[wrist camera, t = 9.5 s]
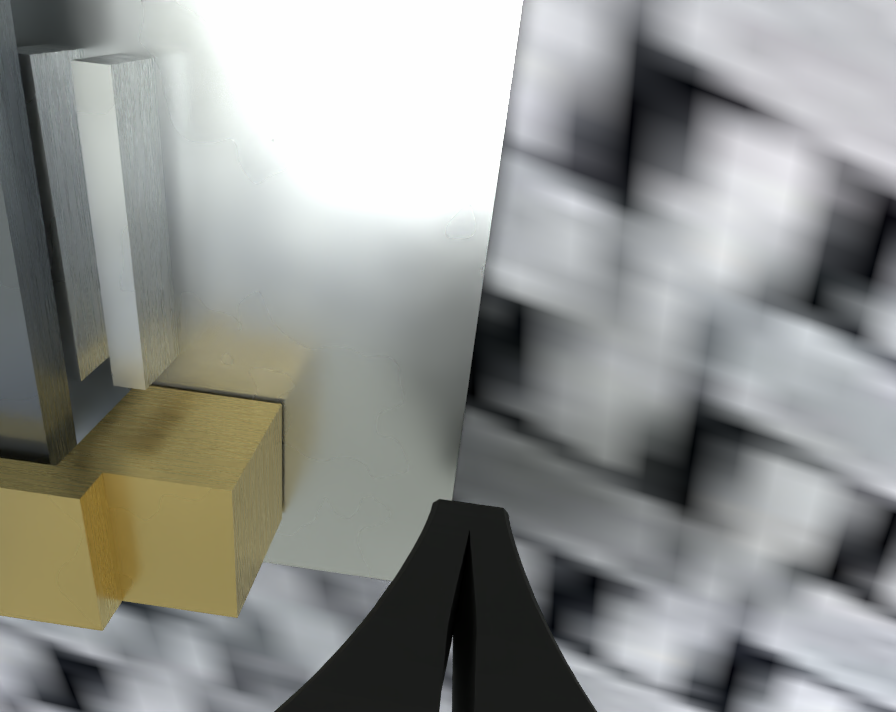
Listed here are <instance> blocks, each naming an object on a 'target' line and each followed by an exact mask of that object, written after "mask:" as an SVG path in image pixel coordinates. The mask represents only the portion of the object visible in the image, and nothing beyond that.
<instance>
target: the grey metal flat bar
mask: <svg viewBox="0 0 896 712" xmlns="http://www.w3.org/2000/svg"><path fill="white" fill-rule="evenodd" d="M76 445H77V440H76V433H75V427H74V420H73V414H72V407H71V401H70V394H69V387H68V381H67V374H66V368H65V361H64V354H63V348H62V341H61V335H60V328H59V321H58V315H57V308H56V302H55V295H54V288H53V282H52V275H51V269H50V262H49V256H48V249H47V242H46V236H45V229H44V223H43V216H42V209H41V203H40V196H39V190H38V183H37V176H36V170H35V163H34V157H33V150H32V143H31V137H30V130H29V124H28V117H27V111H26V104H25V97H24V91H23V84H22V78H21V71H20V64H19V58H18V51H17V45H16V38H15V31H14V25H13V18H12V12H11V5H10V0H0V458H5V459H12V460H19V461H26V462H33V463H40V464H47V465H54V466H57V465H58V464H59V463H60V462H61V461H62V460H63V459H64V457H65V456H66V455H67V454H68V453H69V452H70V451H71V450H72V449H73V448H74V447H75V446H76Z"/></svg>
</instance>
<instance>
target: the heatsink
mask: <svg viewBox="0 0 896 712" xmlns="http://www.w3.org/2000/svg"><path fill="white" fill-rule="evenodd" d="M522 3H523V0H10V5H11V12H12V18H13V25H14V31H15V38H16V45H17V51H18V58H19V64H20V71H21V78H22V84H23V91H24V97H25V104H26V111H27V117H28V124H29V130H30V137H31V143H32V150H33V157H34V163H35V170H36V176H37V183H38V190H39V196H40V203H41V209H42V216H43V223H44V229H45V236H46V242H47V249H48V256H49V262H50V269H51V275H52V282H53V288H54V295H55V302H56V308H57V315H58V321H59V328H60V335H61V341H62V348H63V354H64V361H65V368H66V374H67V381H68V387H69V394H70V401H71V407H72V414H73V420H74V427H75V433H76V440H77V444H78V443H79V442H80V441H81V440H82V439H83V438H84V437H85V436H86V435H87V434H88V433H89V432H90V431H91V430H92V429H93V428H94V427H95V426H96V425H97V424H98V423H99V422H100V421H101V420H102V419H103V418H104V417H105V416H106V415H107V414H108V413H109V412H110V411H111V410H112V409H113V408H114V407H115V406H116V405H117V403H118V402H119V401H120V400H121V399H122V398H123V397H124V396H125V395H126V394H127V393H128V392H129V391H130V390H131V389H132V388H134V389H141V390H146V389H147V388H148V387H149V386H156V387H163V388H170V389H177V390H184V391H191V392H199V393H206V394H213V395H220V396H227V397H234V398H241V399H249V400H256V401H263V402H270V403H277V404H282V520H281V522H280V524H279V526H278V529H277V531H276V533H275V535H274V538H273V540H272V542H271V544H270V547H269V549H268V551H267V553H266V555H265V558H264V560H263V562H266V563H273V564H280V565H287V566H293V567H300V568H307V569H314V570H321V571H328V572H335V573H341V574H348V575H355V576H362V577H369V578H376V579H382V580H389V581H393V579H394V578H395V576H396V575H397V573H398V572H399V570H400V568H401V567H402V565H403V564H404V562H405V560H406V559H407V557H408V555H409V554H410V552H411V550H412V549H413V547H414V545H415V543H416V541H417V539H418V538H419V536H420V534H421V532H422V530H423V528H424V526H425V523H426V521H427V519H428V516H429V514H430V511H431V507H432V504H433V502H435V501H437V500H438V499H444V500H451V501H452V496H453V489H454V482H455V475H456V468H457V461H458V454H459V447H460V440H461V433H462V426H463V419H464V412H465V405H466V398H467V391H468V384H469V376H470V369H471V362H472V355H473V348H474V341H475V334H476V327H477V320H478V313H479V306H480V299H481V292H482V285H483V278H484V271H485V264H486V257H487V249H488V242H489V235H490V228H491V221H492V214H493V207H494V200H495V193H496V186H497V179H498V172H499V165H500V158H501V151H502V144H503V137H504V130H505V122H506V115H507V108H508V101H509V94H510V87H511V80H512V73H513V66H514V59H515V52H516V45H517V38H518V31H519V24H520V17H521V10H522Z"/></svg>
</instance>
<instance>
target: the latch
mask: <svg viewBox="0 0 896 712" xmlns="http://www.w3.org/2000/svg"><path fill="white" fill-rule="evenodd" d="M281 520H282V404H277V403H270V402H263V401H256V400H249V399H241V398H234V397H227V396H220V395H213V394H206V393H199V392H191V391H184V390H177V389H170V388H163V387H156V386H149V387H148V388H147V389H146V390H141V389H134V388H132V389H131V390H130V391H129V392H128V393H127V394H126V395H125V396H124V397H123V398H122V399H121V400H120V401H119V402H118V403H117V405H116V406H115V407H114V408H113V409H112V410H111V411H110V412H109V413H108V414H107V415H106V416H105V417H104V418H103V419H102V420H101V421H100V422H99V423H98V424H97V425H96V426H95V427H94V428H93V429H92V430H91V431H90V432H89V433H88V434H87V435H86V436H85V437H84V438H83V439H82V440H81V441H80V442H79V443H78V444H77V445H76V446H75V447H74V448H73V449H72V450H71V451H70V452H69V453H68V454H67V455H66V456H65V457H64V459H63V460H62V461H61V462H60V463H59V464H58V465H57V466H54V465H47V464H40V463H33V462H26V461H19V460H12V459H5V458H0V616H7V617H14V618H20V619H27V620H34V621H40V622H47V623H54V624H60V625H67V626H74V627H80V628H87V629H94V630H101V631H103V630H104V628H105V627H106V625H107V623H108V622H109V620H110V619H111V617H112V616H113V614H114V613H115V611H116V610H117V608H118V607H119V605H120V604H121V602H122V601H127V602H134V603H141V604H148V605H154V606H161V607H168V608H175V609H181V610H188V611H195V612H202V613H208V614H215V615H222V616H229V617H235V618H238V616H239V613H240V611H241V609H242V607H243V605H244V602H245V600H246V598H247V596H248V593H249V591H250V589H251V587H252V584H253V582H254V580H255V578H256V576H257V573H258V571H259V569H260V567H261V564H262V562H263V560H264V558H265V555H266V553H267V551H268V549H269V547H270V544H271V542H272V540H273V538H274V535H275V533H276V531H277V529H278V526H279V524H280V522H281Z"/></svg>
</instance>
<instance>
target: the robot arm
mask: <svg viewBox="0 0 896 712" xmlns="http://www.w3.org/2000/svg"><path fill="white" fill-rule="evenodd" d="M452 637H453V676H452V712H597V711H596V709H595V708H594V706H593V705H592V703H591V702H590V700H589V698H588V697H587V695H586V694H585V692H584V690H583V689H582V687H581V686H580V684H579V682H578V681H577V679H576V677H575V676H574V674H573V672H572V670H571V669H570V667H569V665H568V664H567V662H566V660H565V658H564V656H563V654H562V653H561V651H560V649H559V647H558V645H557V643H556V641H555V639H554V637H553V635H552V633H551V631H550V629H549V627H548V625H547V623H546V621H545V619H544V617H543V614H542V612H541V610H540V608H539V605H538V603H537V601H536V598H535V596H534V594H533V591H532V589H531V586H530V584H529V581H528V579H527V576H526V574H525V571H524V568H523V566H522V563H521V560H520V557H519V554H518V551H517V548H516V544H515V541H514V538H513V534H512V530H511V526H510V521H509V515H508V513H507V512H506V510H505V509H504V508H500V507H493V506H486V505H479V504H472V503H465V502H458V501H451V500H444V499H438V500H437V501H435V502H433V504H432V507H431V511H430V514H429V516H428V519H427V521H426V523H425V526H424V528H423V530H422V532H421V534H420V536H419V538H418V539H417V541H416V543H415V545H414V547H413V549H412V550H411V552H410V554H409V555H408V557H407V559H406V560H405V562H404V564H403V565H402V567H401V568H400V570H399V572H398V573H397V575H396V576H395V578H394V579H393V581H392V582H391V584H390V585H389V586H388V588H387V589H386V591H385V592H384V593H383V595H382V596H381V598H380V599H379V600H378V602H377V603H376V605H375V606H374V607H373V609H372V610H371V611H370V613H369V614H368V615H367V616H366V618H365V619H364V620H363V622H362V623H361V624H360V625H359V626H358V628H357V629H356V630H355V631H354V632H353V634H352V635H351V636H350V637H349V638H348V639H347V641H346V642H345V643H344V644H343V645H342V646H341V647H340V648H339V649H338V651H337V652H336V653H335V654H334V655H333V656H332V657H331V658H330V659H329V660H328V661H327V662H326V663H325V664H324V665H323V666H322V667H321V669H320V670H319V671H318V672H317V673H316V674H315V675H314V676H313V677H312V678H311V679H310V680H309V681H308V682H307V683H305V684H304V685H303V686H302V687H301V688H300V689H299V690H298V691H297V692H296V693H295V694H293V695H292V696H291V697H290V698H289V699H288V700H287V701H286V702H285V703H283V704H282V705H281V706H280V707H279V708H278V709H277V710H276V711H274V712H439V709H440V698H441V690H442V685H443V681H444V676H445V671H446V666H447V661H448V656H449V651H450V647H451V642H452Z"/></svg>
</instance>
